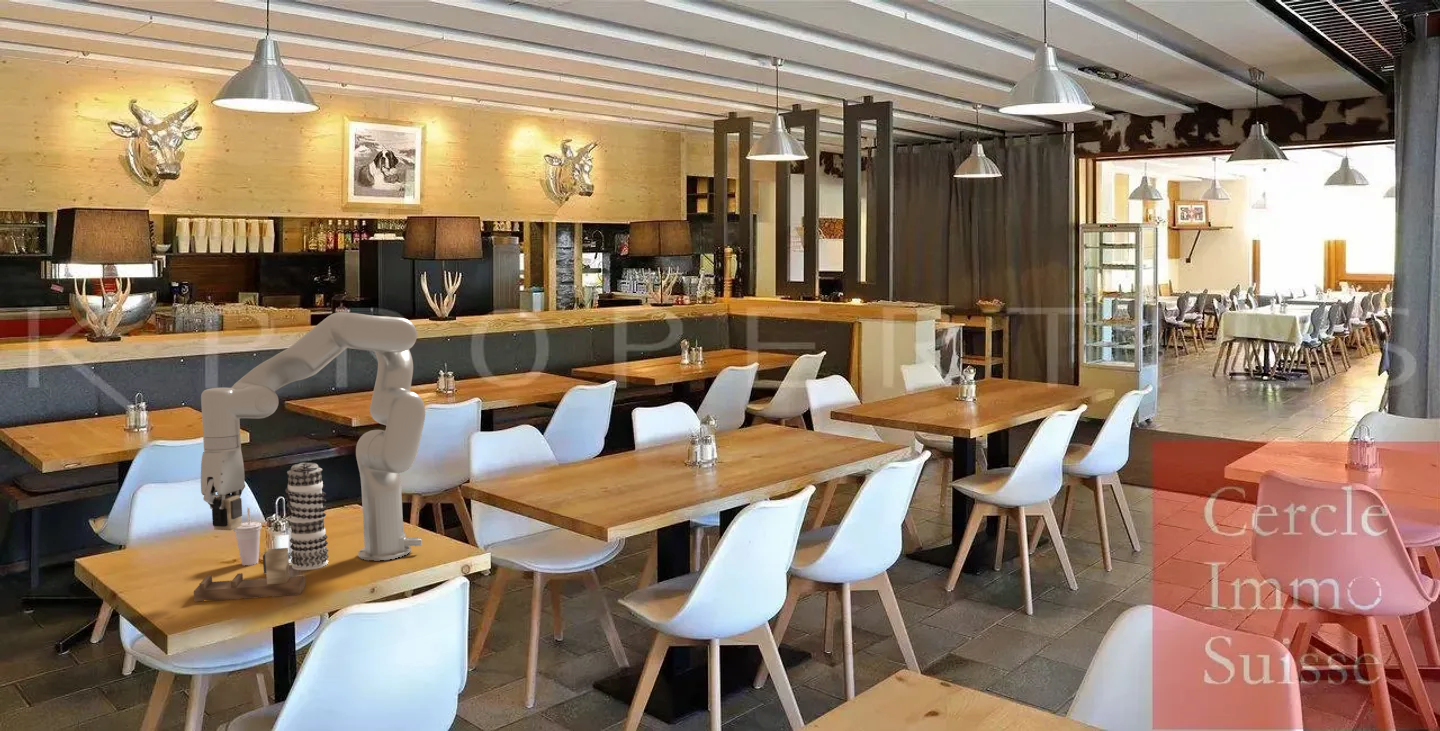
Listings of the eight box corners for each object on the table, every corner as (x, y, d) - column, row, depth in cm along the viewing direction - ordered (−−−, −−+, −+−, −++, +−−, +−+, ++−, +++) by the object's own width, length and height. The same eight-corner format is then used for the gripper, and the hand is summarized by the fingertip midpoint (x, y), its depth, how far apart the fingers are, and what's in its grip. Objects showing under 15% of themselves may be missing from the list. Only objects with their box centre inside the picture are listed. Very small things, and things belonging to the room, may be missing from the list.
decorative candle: (288, 562, 262) (282, 463, 259) (328, 557, 266) (322, 459, 263) (290, 572, 254) (284, 470, 251) (331, 567, 257) (325, 466, 254)
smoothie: (253, 567, 258) (249, 511, 256) (230, 566, 259) (226, 510, 258) (269, 560, 264) (265, 505, 263) (246, 558, 266) (242, 504, 264)
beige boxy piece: (214, 529, 237) (212, 499, 237) (225, 525, 241) (223, 495, 241) (233, 530, 237) (231, 499, 236) (243, 526, 241) (242, 495, 240)
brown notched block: (305, 586, 243) (302, 545, 242) (299, 594, 238) (297, 553, 236) (202, 593, 239) (199, 552, 238) (194, 602, 233) (191, 560, 232)
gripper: (228, 436, 246) (233, 514, 248) (183, 449, 229) (187, 532, 231) (259, 437, 245) (262, 515, 247) (215, 450, 228) (219, 533, 230)
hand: (226, 522), depth 239 cm, fingers closed on beige boxy piece, 4 cm apart
